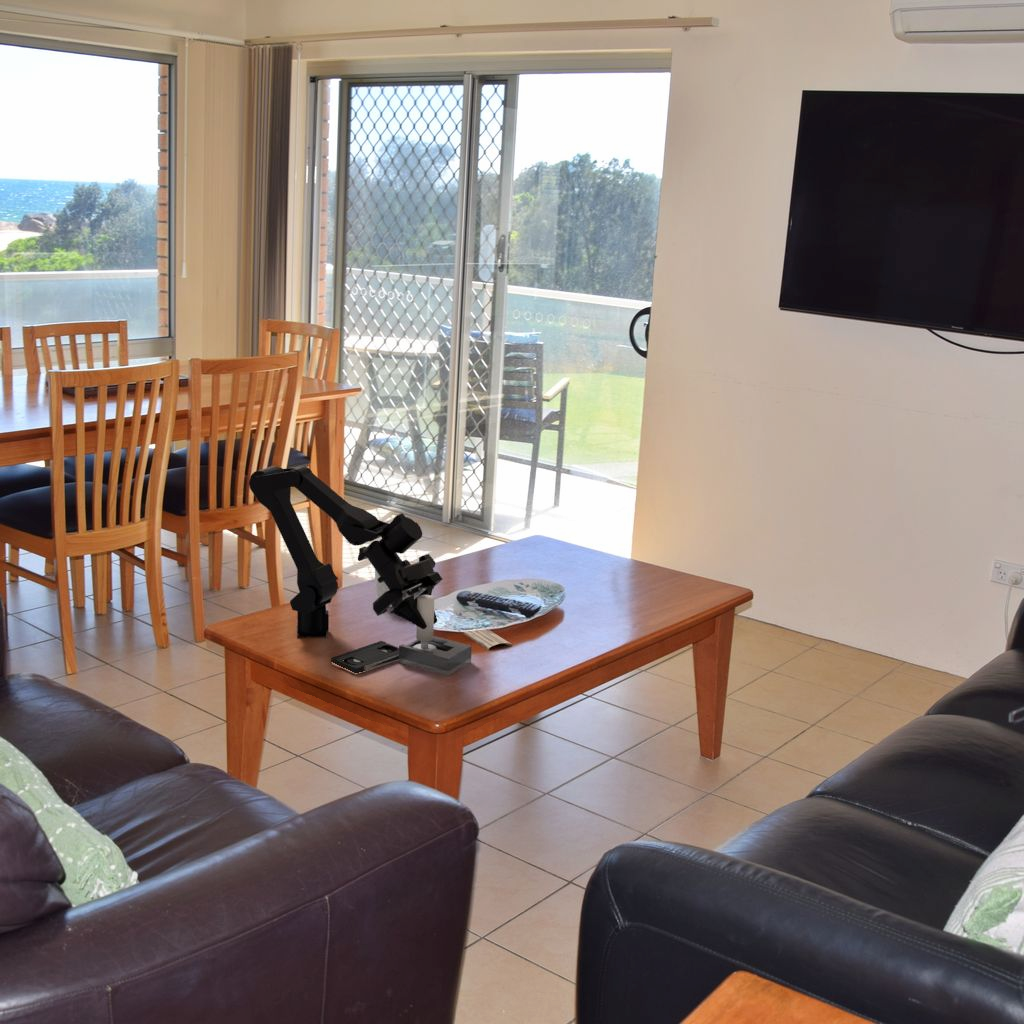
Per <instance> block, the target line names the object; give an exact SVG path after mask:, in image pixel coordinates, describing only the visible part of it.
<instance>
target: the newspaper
mask: <svg viewBox="0 0 1024 1024" xmlns="http://www.w3.org/2000/svg"><path fill="white" fill-rule="evenodd" d="M462 634H463V635H465V636H466V637H468V638H469V639H470V640H472V641H474V642H475V643H477V644H478V645H480V646H482V647H483V648H484V649H486V650H487V651H489V650H490V648H492V647H494V646H496V645H500V644H504V645H506V646H510V647H511V646H512V645H513V644H512V643H510V642H509V641H507V640H506V639H504V638H503V637H501V636H499V635H498V634H496V633H495V632H493V631H491V630H490V629H488V630H476V631H468V632H464V633H462Z"/></svg>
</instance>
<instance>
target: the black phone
mask: <svg viewBox="0 0 1024 1024" xmlns="http://www.w3.org/2000/svg"><path fill="white" fill-rule="evenodd" d="M347 658H348V659H347ZM343 660H345V661H343ZM397 661H399V646H395V645H392V644H391V643H387V642H386V641H383V640H379V641H376V642H373V643H370V644H367V645H364V646H362V647H359V648H357V649H354V650H349V651H346V652H344V653H340V654H338V655H335V656H332V657H330V663H331V662H333V663H335V664H337V665H339V666H341V667H343V668H346V669H348V670H350V671H352V672H354V673H359V672H363V671H366V672H368V671H367V670H369V671H372V670H374V668H375V669H377V667H378V668H380V667H383V666H386V665H388V664H391V663H394V662H397ZM371 669H372V670H371Z"/></svg>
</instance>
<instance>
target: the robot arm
mask: <svg viewBox="0 0 1024 1024" xmlns="http://www.w3.org/2000/svg"><path fill="white" fill-rule="evenodd" d="M248 486H249V489H250V490H251V492H252V494H253V496H254V497H255V498H256V500H257V502H258V503H260V504H261V505H262V506H264V508H266V509H267V510H268V511H269V513H270V514H271V516H272V519H273V520H274V523H275V525H276V527H277V529H278V532H279V534H280V535H281V538H282V539H283V541H284V544H285V546H286V548H287V550H288V552H289V555H290V556H291V559H292V561H293V563H294V565H295V567H296V570H297V571H296V572H297V573H296V585H297V588H298V591H299V592H298V593H297V594H296V595H295V596H294V597H293V598H292V599H290V600H289V604H290V606H291V610H292V611H296V612H297V616H296V617H297V619H296V620H297V625H296V637H297V638H325V637H328V636H327V634H328V632H329V630H330V629H329V627H330V625H329V622H330V621H329V619H330V618H329V617H330V615H329V614H330V613H329V610H327V604H331V602H332V599H333V598H334V596H336V594H337V592H338V589H339V585H338V580H339V578H338V576H336V574H335V572H334V569H333V566H332V564H331V563H327V564H324V563H322V562H321V561H320V559H319V560H318V557H317V556H316V553H315V551H314V549H313V546H312V544H311V543H310V541H309V539H308V536H307V534H306V532H305V530H304V527H303V525H302V523H301V522H300V519H299V517H298V515H297V512H296V510H295V509H294V506H293V504H292V502H291V489H292V488H295V489H297V491H299V492H300V493H301V494H302V495H304V496H305V497H306V498H307V499H308V500H309V501H310V502H312V503H313V504H314V505H315V506H317V507H318V508H319V509H320V510H321V511H322V512H324V514H325V515H327V516H328V517H329V518H331V519H332V521H334V523H335V524H336V527H337V529H338V532H339V533H340V534H341V536H343V538H344V539H345V540H346V541H347V542H348V543H349V544H350V545H352V546H362V545H364V544H366V543H368V542H370V544H369V545H368V546H363V547H359V549H358V556H357V561H359V562H361V561H363V560H366V559H367V560H368V561H369V562H370V565H372V567H373V568H374V571H375V570H376V571H377V573H378V574H379V576H380V577H379V578H378V579H377V580H378V581H379V583H382V582H384V583H385V584H386V586H387V587H388V589H389V591H387V592H385V593H384V594H383V595H381V596H380V597H379V598H378V599H377V600H375V601H373V602H372V610H373V612H374V613H375V614H376V616H377V617H378V616H381V615H384V614H385V613H387V610H388V608H390V607H389V606H390V605H391V604H392V607H391V608H392V610H390V611H389V613H390V614H391V615H392V614H393V615H396V616H398V617H400V618H401V619H404V620H406V621H408V622H409V623H411V624H413V625H414V626H415V627H417V626H418V627H420V628H422V629H425V628H426V627H427V625H426V623H425V621H424V619H423V618H422V616H421V614H420V613H419V611H418V609H417V597H418V596H420V595H431V596H432V594H433V593H432V592H433V590H434V589H435V587H436V586H437V585H438V584H439V583H441V582H442V581H443V578H442V576H441V575H440V573H439V572H438V571H435V570H434V568H435V566H436V561H435V560H434V558H433V557H432V556H431V555H430V554H429V553H428V554H427V553H426V554H423V555H421V556H419V558H418V561H416V562H414V563H412V564H411V562H410V561H409V560H407V559H404V561H402V560H403V559H402V558H401V556H399V554H401V555H402V554H404V553H406V552H407V551H408V550H409V549H410V548H411V547H412V546H414V545H415V544H416V543H417V542H418V541H419V540H420V539H422V537H423V531H422V528H421V526H420V524H419V523H418V522H417V521H416V522H415V521H414V520H413V519H412V518H410V517H407V516H405V514H404V513H403V512H401V513H400V514H398V515H396V516H395V517H394V518H393V519H392V521H391V522H390V523H388V522H385V521H384V520H383V521H382V520H379V519H378V518H377V517H376V515H374V514H372V513H370V512H369V511H367V510H366V509H364V508H361V507H358V506H354V505H352V504H350V503H349V502H348V501H346V499H344V498H342V496H340V495H339V494H338V493H337V492H336V491H334V490H333V489H332V488H331V487H330V486H329V485H328V484H326V483H325V481H323V480H322V479H320V478H319V477H318V476H317V475H315V474H314V473H313V471H312V469H311V468H310V467H308V466H305V465H302V466H299V467H287V468H283V467H280V466H278V465H271V466H268V467H266V468H262V469H259V470H256V471H254V472H253V473H252V474H251V475H250V476H249V481H248ZM379 538H381V539H379ZM376 539H379V540H376ZM437 623H438V617H437V614H436V610H434V625H435V624H437Z"/></svg>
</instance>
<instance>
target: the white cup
mask: <svg viewBox="0 0 1024 1024" xmlns="http://www.w3.org/2000/svg"><path fill="white" fill-rule="evenodd" d="M401 560H402V561H404V560H405V559H404V560H403V559H401ZM379 577H380V576H379V574H378V573H377V571H376V570H375V569H374V581H375V583H374V585H375V596H376V600H377V599H378V598H379V597H380V596H381V595H383V594H384V593H385V592H387V591H389V589H388V587H387V586H386V584H385V583H384V582H382V583H379V581H378V580H377V579H378V578H379ZM376 600H375V601H376ZM388 608H393V607H392V604H391V605H390V606H389V607H388Z"/></svg>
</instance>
